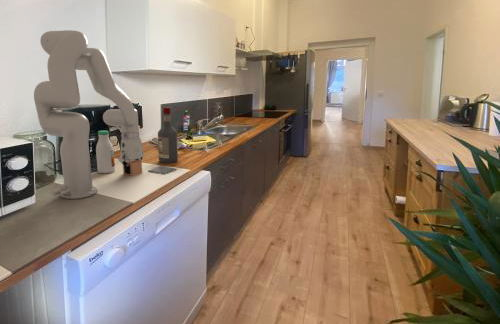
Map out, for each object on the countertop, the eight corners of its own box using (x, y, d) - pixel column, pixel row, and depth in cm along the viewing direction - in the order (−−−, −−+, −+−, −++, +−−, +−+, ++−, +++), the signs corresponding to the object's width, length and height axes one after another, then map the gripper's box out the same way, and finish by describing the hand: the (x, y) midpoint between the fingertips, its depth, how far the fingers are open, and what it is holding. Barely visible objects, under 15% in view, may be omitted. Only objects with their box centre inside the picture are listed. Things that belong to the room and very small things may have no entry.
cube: (133, 175, 145) (132, 163, 144) (123, 174, 148) (122, 161, 146) (142, 172, 151) (141, 160, 149) (132, 171, 153) (132, 159, 152)
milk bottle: (108, 174, 146) (105, 132, 141) (94, 172, 148) (90, 131, 143) (118, 170, 154) (115, 130, 149) (104, 168, 155) (101, 129, 150)
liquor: (170, 158, 181) (169, 106, 173) (180, 161, 175) (178, 108, 168) (156, 160, 174) (154, 107, 167) (166, 164, 168) (164, 108, 161)
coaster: (164, 174, 149) (164, 173, 149) (148, 171, 153) (147, 170, 153) (176, 169, 158) (176, 168, 158) (161, 167, 162) (161, 165, 162)
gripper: (122, 138, 136) (124, 177, 140) (149, 133, 151) (151, 169, 155) (109, 137, 138) (112, 175, 143) (137, 132, 154) (139, 167, 158)
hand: (132, 171), depth 149 cm, fingers closed on cube, 6 cm apart
